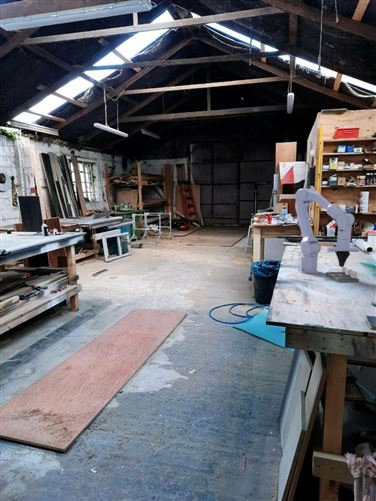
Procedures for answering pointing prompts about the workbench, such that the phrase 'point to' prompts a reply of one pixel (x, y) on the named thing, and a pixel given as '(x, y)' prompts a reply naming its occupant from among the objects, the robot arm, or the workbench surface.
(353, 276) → the breaker near
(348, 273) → the breaker mid
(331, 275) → the panel
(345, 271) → the breaker far
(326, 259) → the workbench surface
